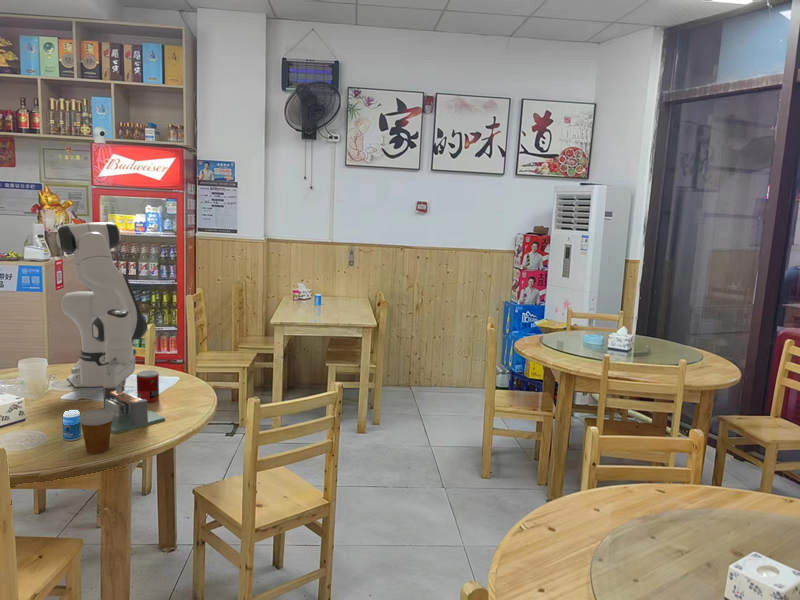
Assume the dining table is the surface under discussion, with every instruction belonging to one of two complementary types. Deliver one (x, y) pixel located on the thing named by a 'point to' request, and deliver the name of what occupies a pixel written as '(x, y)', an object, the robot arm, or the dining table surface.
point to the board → (128, 423)
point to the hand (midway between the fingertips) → (120, 392)
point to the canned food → (148, 386)
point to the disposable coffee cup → (96, 430)
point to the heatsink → (119, 409)
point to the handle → (123, 397)
